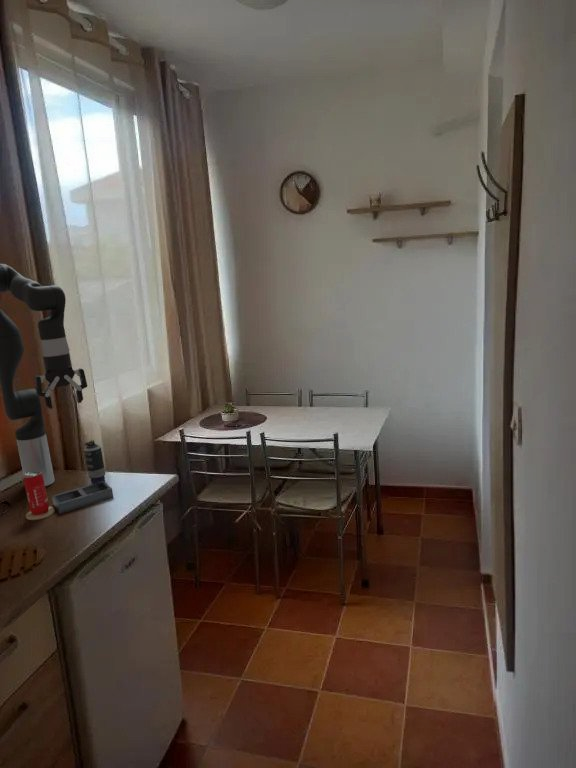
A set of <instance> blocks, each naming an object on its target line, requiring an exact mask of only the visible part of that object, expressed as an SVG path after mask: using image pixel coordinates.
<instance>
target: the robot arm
mask: <svg viewBox="0 0 576 768" xmlns="http://www.w3.org/2000/svg"><path fill="white" fill-rule="evenodd" d="M5 292H10V293H11V294H12V296H13V297H14V298H15V299H16V300H19V301H21V302H24V303H25V304H26V306H27V307H28V308H29V309H30V310H32V311H35V312H44V311H50V313H49V316H48V317H45V318H43V319H40V320H39V321H38V322H37V327H38V331H39V332H38V333H39V339H40V349H41V353H42V359H43V365H44V370H45V374H44V375H35V376H34V381H35V388H27V389H21V390H16V391H14V380H15V375H16V372H17V370H18V367H19V366H20V363H21V360H22V359H23V356H24V351H25V347H24V343H23V338H22V334H21V330H20V328H19V327H18V326H17V325H16V324H15V322H14V321H13V320H12V319H11V318H10V317H9V316H8V315H7V314H6V313H5V312H4V311H3V310H2V309H1V308H0V389H1V395H2V400H3V407H4V411H5V414H6V417H7V418H8V419H9V420H11V421H16V420H22V419H25V418H26V419H27V418H29V417H30V418H29V420H28V421H27V422H26V423H25V424H23V425H22V426H21V427H19V428H17V429H16V430H15V433H14V436H15V440H16V444H17V448H18V450H17V451H18V454H19V459H20V464H21V469H22V475H23V476H24V475H26V474H28V473H30V472H35V471H40V472H41V473H42V474H43V479H44V484H45V487H47V486H50V485H52V484H54V482H55V480H56V479H55V476H54V471H53V465H52V459H51V454H50V449H49V443H48V437H47V433H46V432H47V431H46V428H45V427H46V426H45V420H44V414H43V405H42V400H41V397H43V398H44V401H45V407H46V408H48V409H49V410H53V403H52V398H51V396H50V395H51V394H52V392H53V390H54V389H55V388H61V387H67V386H69V385H71V386H72V388H74V389H75V395H76V400H77V403H78V404H82V401H83V400H84V395H83V389H86V388H87V387H88V382H87V378H86V374H85V370H84V368H81V367H80V368H78V369H75V370H74V368H73V365H72V360H71V354H70V347H69V344H68V343H69V342H68V340H67V337H66V335H67V334H66V329H65V325H64V321H65V312H66V311H65V309H66V302H67V301H66V293H65V292H64V290H63V289H62V288H61V287H60V286H58V285H56V284H55V285H42V284H41V283H39V282H38V281H35V280H32V279H31V278H27V277H25V276H23V275H22V274H21V273H19V272H18V271H16V270H15V268H13V267H11V266H10V265H7V264H6V263H0V293H5ZM75 375H76V376H77V377H79V381H80V384H78V383H77V382H76V381H75V380H73V378H75V377H74V376H75ZM45 380H46V381H47V382H48V384H47V386H46V388H45V390H44V391H43V385H42V383H44V382H45Z"/></svg>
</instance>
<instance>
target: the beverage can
mask: <svg viewBox="0 0 576 768" xmlns="http://www.w3.org/2000/svg"><path fill="white" fill-rule="evenodd" d="M23 482H24V488H25V492H26V497H27V501H28V502H27V503H28V507H29V512H30V511H31V513H32V514H33V515H41V514H44V513H46V512H47V511H48V508H49V506H50V505H49V504H50V503H49V499H48V494H47V490H46V486H45V484H44V479H43V474H42V473H41V472H40V471H35V472H30V473H28V474H26V475H23Z"/></svg>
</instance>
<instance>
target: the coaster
mask: <svg viewBox="0 0 576 768" xmlns="http://www.w3.org/2000/svg"><path fill="white" fill-rule="evenodd" d="M55 512H56V508H55V506H50V505H49V508H48V511H47V512H46V513H44V514H41V515H33V514H32V513H31V511H30V510H29V512H27V513H26V514H25V518H26V520H29V521H37V520H38V521H39V520H42V519H46V518H48V517H50V516H52V515H54V513H55Z"/></svg>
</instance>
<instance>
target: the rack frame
mask: <svg viewBox="0 0 576 768" xmlns="http://www.w3.org/2000/svg"><path fill="white" fill-rule="evenodd" d="M51 498H52V503H53V504H52V505H53V507H54V508H55V510H56V511H57V512H58V514H59V515H61V514H65V513H68V512H71V511H74V510H77V509H81V508H83V507H84V508H85V507H87V506H90V505H94V504H97V503H100V502H103V501H107V500H110V499H113V498H114V492H113V488H112V487H111V486H110V485H109V484H107V482H106V481H105V482H104V481H102V482H98V483H95V484H91V483H90V484H88V485H86V486H81V487H78V488H74V489H70V490H67V491H64V492H61V493H57V494H53V495H51Z"/></svg>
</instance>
